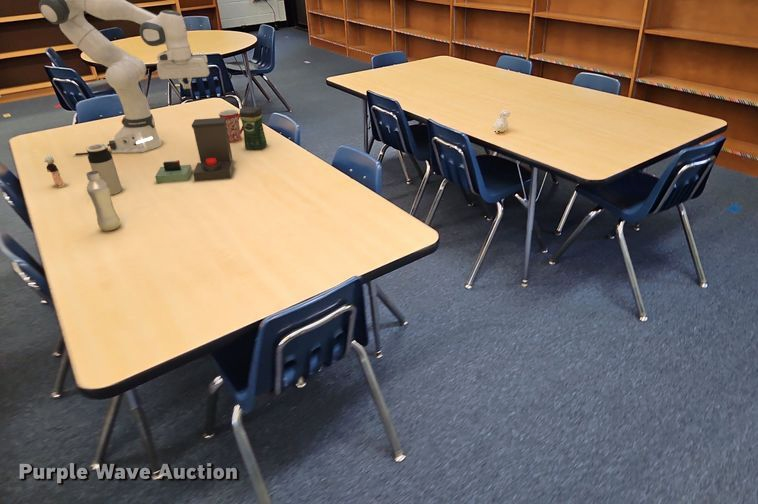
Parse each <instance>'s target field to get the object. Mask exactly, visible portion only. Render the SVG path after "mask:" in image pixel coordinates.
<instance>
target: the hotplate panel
mask: <svg viewBox="0 0 758 504" xmlns="http://www.w3.org/2000/svg"><path fill="white" fill-rule="evenodd" d="M180 166H181V170H177V171H165V169H164V166H160V167H159V169H158V171H157V173H156V174H155V176H154V177H155V181H156V184H162V183H173V182H174V183H175V182H187V181H189V179H190V177H191V174H192V173H193V169H192V165H191V164H180Z"/></svg>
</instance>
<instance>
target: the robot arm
mask: <svg viewBox="0 0 758 504" xmlns="http://www.w3.org/2000/svg"><path fill="white" fill-rule="evenodd" d="M38 8H39V11H40V13H41V15H42V16H43V17H44V19H45V20H46V21H48V22H49V23H51V24H53V25H59V29H60V31H61V32H62V33H63V34H64V36H65V37H66V38H67V39H68V41H70V42H71V43H72V44H73V45H74V46H76V47H77V48H78V49H79V50H80V51H81V52H82V53H84V54H85V55H86V56H87V57H88V58H89V59H90V60H91V61H93V62H95V63H97V64H100V65H102V66H103V67H106V68H107V69H106V71H105V81H106V82H107V84H108V85H109V86H110V87H111V88H113V90H114V91H115V94H116V95H117V97H118V99H119V102H120V104H121V106H122V111H123V113H124V116H123V117H122V119H121V121H120V123H121V124H122V125H123V126H121V128H120V129H119V130H118V131H117V132H116V134H115V135H114V138H113V139H112V140H109V141H108V144H107V143H106V144H107V145H108V147H109V148H110V153H111V154H112V153H113V154H120V153H123V154H124V153H125V154H126V153H127V154H129V153H130V154H131V153H134V154H135V153H145V152H147V151H150V150H153V149H156V148H159V147H161V146H162V145H163V142H162V140H161V138H160V136H159V134H158V130H157V129H156V123H155V118H154V116H153V114H152V112H151V108H150V104H149V100H148V98H147V96H146V95H145V94H144V93H143V91H142V89H141V87H140V84H139V82H141V81H142V80H143V79H144V77H145V75H146V74H147V66H146V64H145V62H144V61H143V60H142V59H141V58H139V57H137V56H134V55H131V54H130V53H129V52H127V51H125V50H124V49H122V48H120V47H119V46H118V45H116V44H114V43H113V42H112V41H110V40H109V39H108V38H107V37H106V36H104V35H103V33H102V32H100V31H99V30H98V29H97V28H96V27H95V26H93V24H91V23H89V22H88V20H87V19H86V18H85V15H86V14H89V15H91V16H93V17H95V18H98V19H101V20H104V21H119V20H122V21H130V22H134V23H136V24H138V25H140V26H139V35H140V38H141V39H142V42H144V44H146V45H148V46H150V47H159V46H163V45H165V46H166V49H167V50H164V51H162V52H160V53H158V54H157V56H156V59H157V61H158V62H157V63H156V71H157V76H158V78H159V79H160V80H175V79H177V80H178V82H179V83H180V84H181V86H182V88H183V90H191V89H192V81H193V78H206V77H209V75H210V74H211V73H210V68H209V65H208V62H209V61H208V56H207V55H206V54H205V53H203V52H192V50H191V45H190V43H189V40H188V31H187V27H186V23H185V19H184V17H183V15H182V13H180V12H179V11H176V10H172V9H163V10H161V11H160V12H159V14H156V13H153V12H151V11H149V10H147V9H145V8H143V7H141V6H139V5H136V4H135V3H131V2H129V1H128V0H39V2H38ZM184 79H187V81H188V83H185V81H184ZM74 155H75V156H84V155H86V156H87V155H88V152H87V151H86V152H77V153H74Z"/></svg>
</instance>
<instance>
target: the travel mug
mask: <svg viewBox="0 0 758 504" xmlns="http://www.w3.org/2000/svg"><path fill="white" fill-rule="evenodd" d="M85 151H86V153H87V152H88V154H87V159H88V163H89V165H90V169H91V171H99V173H100V175H101V179H102V180H104V181H105V182H106V183H107V184H108V185H109V188H110V195H111V196H113V195H117V194H119V193H121V192H122V191H123V188H122V183H121V181H120V178H119V174H118V170H117V167H116V164H115V162H114V159H113V158H114V157H113V155H112V152H111V151H110V150H109V146H108V145H107V143H97V144H92V145H88V146H86V148H85Z"/></svg>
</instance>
